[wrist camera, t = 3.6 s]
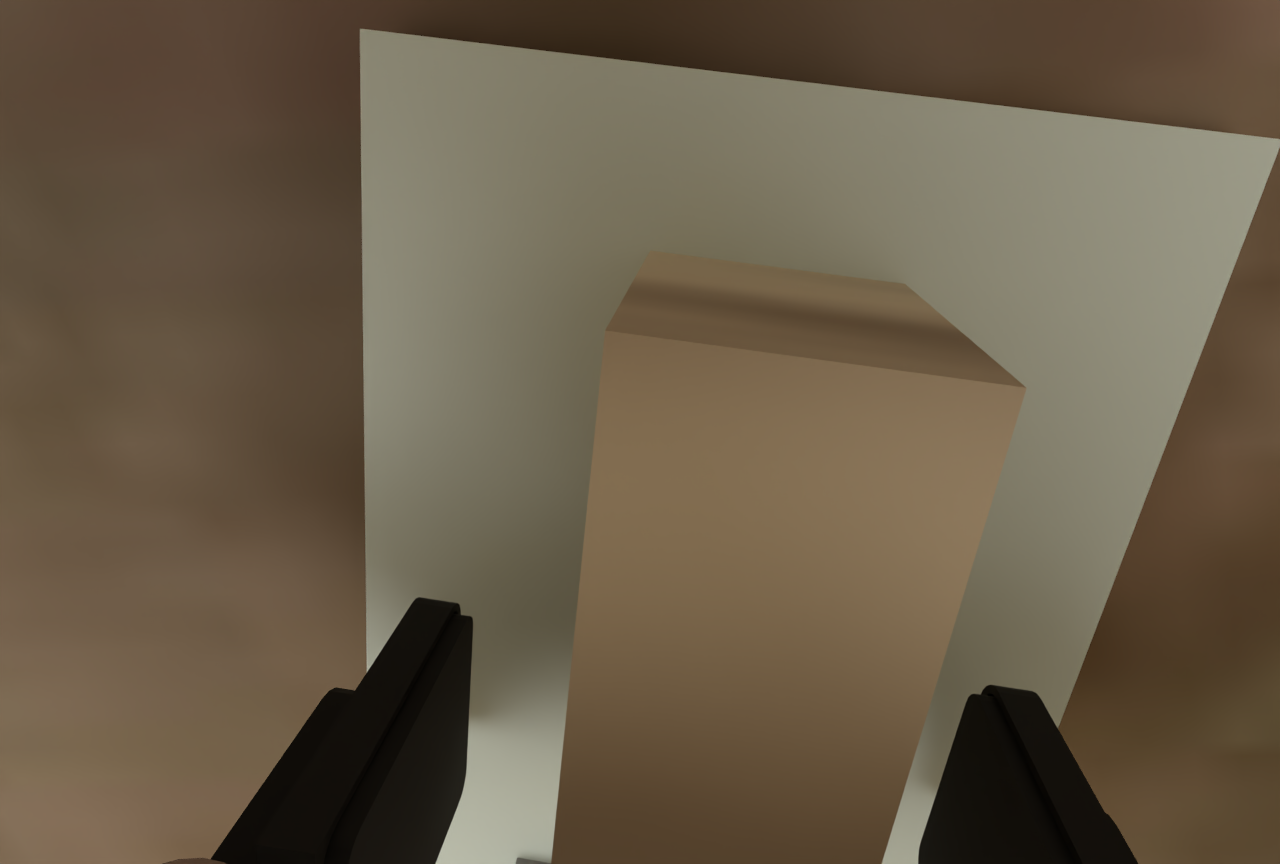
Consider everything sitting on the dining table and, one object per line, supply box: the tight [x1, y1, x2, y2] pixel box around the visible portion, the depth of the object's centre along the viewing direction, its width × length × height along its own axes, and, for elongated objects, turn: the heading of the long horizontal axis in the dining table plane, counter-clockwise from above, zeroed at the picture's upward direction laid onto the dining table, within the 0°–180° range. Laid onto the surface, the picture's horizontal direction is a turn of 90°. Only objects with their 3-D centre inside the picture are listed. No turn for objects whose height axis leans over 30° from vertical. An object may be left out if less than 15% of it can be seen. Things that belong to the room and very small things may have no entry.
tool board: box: [360, 29, 1280, 864], centre depth 13 cm, size 22×10×1 cm, turn 173°
